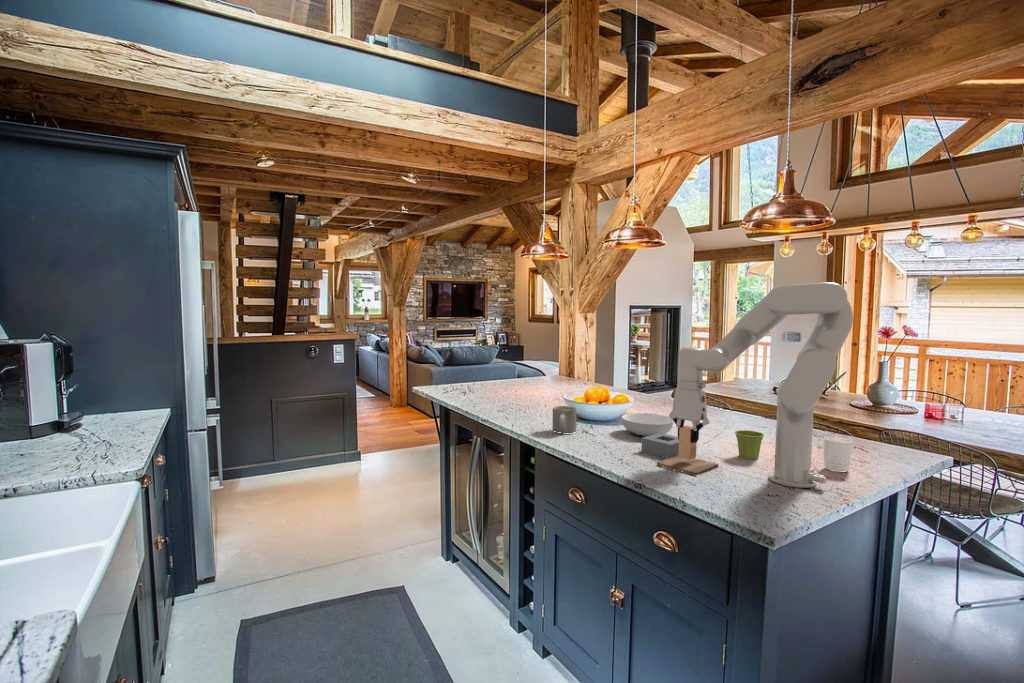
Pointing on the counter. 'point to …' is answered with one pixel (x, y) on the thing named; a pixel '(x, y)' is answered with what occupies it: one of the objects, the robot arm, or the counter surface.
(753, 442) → the plant pot
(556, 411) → the coffee mug
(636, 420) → the serving bowl
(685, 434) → the copper peg
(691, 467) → the walnut mat
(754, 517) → the counter surface
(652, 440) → the socket block
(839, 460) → the white cup
